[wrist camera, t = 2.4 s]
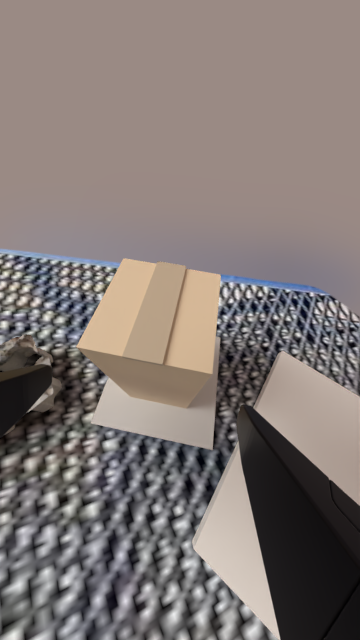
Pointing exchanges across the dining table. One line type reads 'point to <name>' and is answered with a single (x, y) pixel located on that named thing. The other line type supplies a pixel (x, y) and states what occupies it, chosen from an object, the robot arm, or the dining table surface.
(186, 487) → the dining table surface
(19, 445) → the dining table surface
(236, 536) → the off-white pad
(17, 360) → the egg carton
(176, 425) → the grey mat
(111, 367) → the kraft carton
